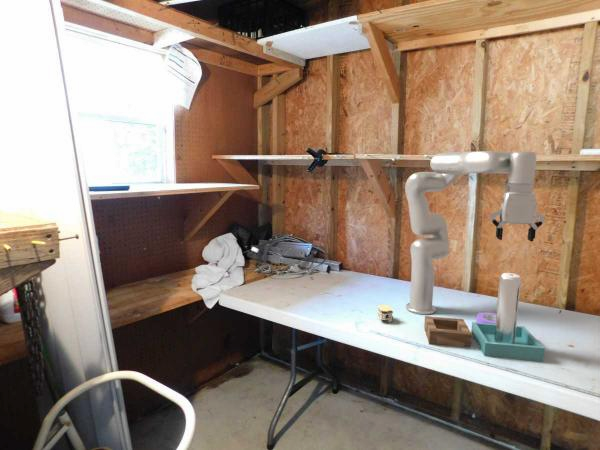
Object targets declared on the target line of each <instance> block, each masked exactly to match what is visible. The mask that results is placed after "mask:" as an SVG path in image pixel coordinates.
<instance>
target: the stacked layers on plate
mask: <svg viewBox="0 0 600 450" xmlns="http://www.w3.org/2000/svg"><path fill="white" fill-rule="evenodd" d="M376 310H377V313H376V315H377V318H378V319H379V320H380V321H387V323H392V321H393V318H394V316H393V314H394V311H393V310H394V308H393V307H391V306H390V305H387V304H380V305H379V304H378V305H377V308H376Z"/></svg>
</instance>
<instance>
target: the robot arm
mask: <svg viewBox="0 0 600 450" xmlns="http://www.w3.org/2000/svg"><path fill="white" fill-rule="evenodd" d="M429 165H430V168H431V170H432V171H420V172H414V173H413V174H411V175H409V177H408V178H407V180H406V182H405V186H404V187H405V188H404V190H405V191H404V192H405V196H406V200H407V203H408V212H409V221H410V228H411V230H412V231H411V232H412V233H413V234H414V235H416V236H429V237H426V238H419V239H416V240H414V241H413V242H412V243H411V245H410V247H409V248H410V249H409V250H410V258H411V259H410V261H411V270H410V271H411V276H410V294H409V295H410V296H409V302H407V303H406V304H405V309H406V310H407V311H409V312H411V313H414V314H419V315H431V314H434V313H436V309H437V308H436V307H435V306H434V305H433V299H434V285H435V284H434V283H435V267H434V265H433V263H432V261H434V260H441V259H444V258H446V257H447V256H448V255H449V253H450V241H449V233H448V226H447V222H446V219H445V217H444V216H443V215H442V214H440V213H438V212H431V209H430V203H429V200H428V198H427V197H426V195H425V194H424V193H438V192H442V191H444V190H446V189H447V188H448V187H450V185H451V184H453V182H454V181H455V180H456V179H457V178H458V177H459V175H469V174H508V175H507V177H508V178H507V183H506V185H502V190H505V191H506V192H504V194H503V197H502V201H501V205H500V209H499V210H496V211H493V212H491V213H489V214H488V217H489V219H490V221H491V223H492V224H493V226H495V227H496V228H495V229H496V230H495V238H496V239H497V240H500V241H501V240H503V234H504V233H503V232H504V228H503V226H505V224H517V225H518V224H520V225H528V226H529V228H528V231H527V240H528V241H530V242H534V239H536V230H538V228H539V227H541V226H542V225H543V224H544V222H545V220H546V219H547V217H546V216H545V215H544V214H542V213H540V212H538V211H537V196H536V194H535V193H534V192H533V191H534V185H535V184H534V182H535V173H536V165H537V154H536V152H534V151H529V150H527V151H525V150H523V151H521V150H520V151H519V150H517V151H507V150H480V151H478V150H477V151H473V150H472V151H468V150H467V151H466V150H465V151H450V152H447V151H446V152H439V153H436V154H435V155H433V156H432V158H431V159H430V163H429ZM498 216H499V221H497V219H496V217H498ZM537 218H538V220H537Z"/></svg>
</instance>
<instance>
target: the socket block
mask: <svg viewBox="0 0 600 450" xmlns="http://www.w3.org/2000/svg"><path fill="white" fill-rule="evenodd" d="M423 325H424V327H423V329H424V332H426V333H425V335H426V339H427V342H428V345H434V346H443V345H444V346H446V347H454V348H455V347H456V348H466V349H467V348H468V349H472V340H473V336H472V333H471V330H470V329H469V327H468V325H467V323H466V322H465V320H464V319H463V318H453V317H439V316H429V315H428V316H427V315H425V316H424V324H423Z"/></svg>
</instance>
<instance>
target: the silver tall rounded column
mask: <svg viewBox="0 0 600 450" xmlns="http://www.w3.org/2000/svg"><path fill="white" fill-rule="evenodd" d="M521 285H522V278H521V275H519V274H517V273H512V272H504V273H502V274H501V275H500V276H499V282H498V291H497V293H498V294H497V304H496V313H495V314H496V323H495V334H494V342H496V343H507V344H515V336H516V326H518V316H519V315H518V314H519V305H520V295H521Z"/></svg>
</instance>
